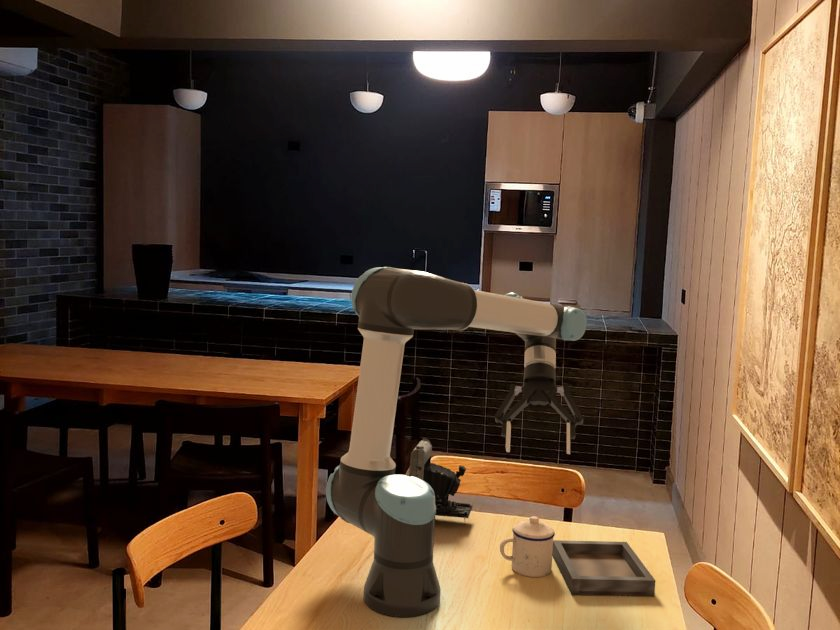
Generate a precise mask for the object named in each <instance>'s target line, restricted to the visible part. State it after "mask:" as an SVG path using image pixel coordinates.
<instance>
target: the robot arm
mask: <svg viewBox="0 0 840 630" xmlns="http://www.w3.org/2000/svg"><path fill="white" fill-rule="evenodd" d="M350 296H351V297H350V300H351V301H350V303H351V306H352V309H353V310H354V313H355V314H356V315H357V317H358V325H357V330H358V331H359V333H360V334H361V336H362V337H363V344H362V350H361V359H360V366H359V373H358V379H357V380H358V381H357V388H356V396H355V404H354V410H353V411H354V412H353V417H352V418H353V419H352V426H351V433H350V440H349V447H348V448H349V449H348V452H346V453H345V454H344V455H342V456H341V457H340V463H339V465H337V466H336V467H335V468H334V469H333V470H334V472H333V473H330V475H329V477H328V480H327V481H326V487H325V498H326V502H327V504H328V506H329V508H330V510H331V511H332V512H333V513H334V514H335V515H337V516H338V517H339V518H340V519H341V520H342V521H344V522H346V523H348V524H349V525H350V524H351V525H353V527H356V528H358V529H360V530H361V531H363V532H365V533H367V534H369V535H371V536H372V537H373V538H374V543H373V544H374V547H373V560H372V562H371V566H370V568H369V572H368V575H367V577H366V579H365V582H364V587H363V601H364V603H365V604H366V605H367V606H368V608H369V609H371V610H372V611H375V612H376V613H378V614H379V613H380V614H382V615H385V616H391V617H397V618H398V617H399V618H407V617H409V618H411V617H417V616H422V615H425V614H427V613H430V612H432V611H434V610H435V609H437V608H438V606H439V604H440V603H441V602H440V601H441V585H440V582H439V577H438V576H437V570H436V568H435V564H434V548H435V547H434V544H435V527H436V515H435V514H436V505H435V493H434V491H433V489H432V487H431V486H430V485H429V484H428V483H426V482H425V481H423V480H421V479H419V478H417V477H413V476H411V477H409V475H407V474H401V473H400V474H399V473H398V474H396V467H397V465H396V463H395V461H394V460H393V459H392V457H391V450H392V442H393V436H394V435H393V434H394V428H395V418H396V413H397V403H398V397H399V388H400V382H401V375H402V366H403V362H404V361H403V359H404V353H405V345H406V343H407V342H408V341H410V340H411V339H412V338H413V337H414V333H415V331H414V330H449V331H450V330H452V331H464V330H467V329H468V328H475V329H476V328H477V329H485V330H493V331H498V332H499V331H500V332H508V333H514V334H515V335H517V336H518V337H519V338H521V340H523V341H524V363H523V365H524V370H523V383H522V386H520V385H516V384H515V383H511V384H510V386H509V389H508V393H507V394H506V396H505V397H504V400H503V401H502V403H501V404H500V406H499V408H498V409H497V411H496V412H495V414H494V420H495V422H496V424H501V437H502V438H505V451H506V453H510V452H511V438H512V437H511V436H512V434H511V433H512V432H511V431H512V424H511V422H512V421H513V420H514V419H515V418H516V417H517V416H518V415H519V414H520V413H521V412H522V411H523V410H524V409H525V408H527V407H528V406H529V405H532V406H537V405H541V406H547V405H549V406H551V407H552V409H554V410H555V411H556V412H557V413H558V414H559V415H560V417H561V418H562V419H563V420H564V421H565V422H566V454H567V455H571V440H576V427H577V426H582V425H583V424H584V416H583V415H582V413H581V411H580V410H579V407H578V406H577V404H576V402H575V400H574V399H573V396H572V394H571V393H570V387H569V385H568V384H566V383H565V384H564V385H563V386H557V385H556V377H557V376H556V368H557V365H556V364H557V361H556V360H557V359H556V358H557V356H556V354H557V350H556V348H557V347H556V346H557V342H556V341H557V339H559V340H562V341H573V342H575V341H578V340H580V339H581V338H582V337H583V336H584V335H585V332H586V330H587V324H588V323H587V322H588V320H587V316H586V314H585V312H584V311H583V310H582V309H581V308H578V307H573V306H570V305H568V306H567V305H560V304H555V303H554V304H553V303H548V302H543V301H538V300H531V299H526V298H524V297H523V296H521V295H519V294H518V293H515V292H509V293H508V292H507V293H505V294H500V293H499V294H498V293H493V292H488V291H487V292H486V291H482V290H476V289H474V287H472V285H470V284H468V283H466V282H465V283H464V282H460V281H457V280H452V279H449V278H446V277H443V276H440V275H437V274H433V273H429V272H427V271H423V270H414V269H413V270H412V269H404V268H396V267H391V266H383V267H381V266H380V267H379V266H378V267H373V268H369V269H368V270H366V271H364V273H362V275H360V276H359V277H358V278H357V280H356V281H355V283H354V285H353V288H352V290H351V295H350ZM519 393H522V396H521V397H520V399H519V401H518V402H517V403H515V405H513V406H512V407H511V408H510V406H511V405H512V403H513V402H514V401H515V400H514V399H515V398H516V397H517V396H519ZM557 394H559V395H560V396H561V397H563V398H564V401H565V402H566V404H567V406H568V408H569V410H570V412H571V413H570V412H569V411H568V410H567V409H566V408H565V407H564V406H563V405H562V404H561V403H560V402H559V400H558V399H557V397H556V396H557ZM515 396H516V397H515ZM509 408H510V409H509ZM571 414H572V415H573V416H572V415H571Z"/></svg>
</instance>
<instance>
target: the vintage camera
mask: <svg viewBox="0 0 840 630" xmlns="http://www.w3.org/2000/svg"><path fill="white" fill-rule="evenodd" d="M432 451H433V445H432V443H431V441H430V440H429V439H428V438H422V440H420V441H419V442H418V443H417V445H416V446H415V447H414V448H413V450H412V452H411V453H410V460H409V471H408V473H409V474H408V477H411V476H413V477H417V478H419V479H421V480H423V481H425V482H426V483H428V484H429V485H430V486H431V487H432V489H433V491H434V493H435V505H436V514H435V516H437V517H447V518H448V517H450V518H460V519H461V518H463V520H464V521H466V519H469V518H470V514H471V512H472V509H473V507H474V506H473V504H472V505H471V503H467V502H456V501H455V500H454V501H451V500H449V495H450V496H452V497H454V496H455V495H456V494H457V492H458V490H459V488H460V485H461V481H462V480H461V479H460V477H463V476H465V473H466V471H467V468H466V467H465V466H464V465H459V467H458V470H456V471H452V470H451V469H450V468H448V467H444V466H442V465H440V464H436V463H433V462H432V461H431V460H432Z"/></svg>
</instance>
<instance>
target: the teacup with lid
mask: <svg viewBox="0 0 840 630" xmlns="http://www.w3.org/2000/svg"><path fill="white" fill-rule="evenodd" d="M555 534H556V533H555V530H554V528H553V527H552V526H551V525H549V524H547V523H545V522H543V521H540V519H539V517H538V516H535V515H532V516H530V517H529V519H527V520H523V521H522V520H521V521H518V522H517V523H515V524H514V525H513V527H512V537H506V538H504V539H503V540H502V541H501V542H500V544H499V552H500V555H501V556H502V557H503V558H504V560H507V561H511V568H512V569H513V571H515V573H517V574H519V575H522V576H525V577H529V578H540V577H544V576H547V575H549V574H551V572H552V568H553V567H552V565H553V556H552V551H553V540H554V537H555V536H556V535H555ZM508 543H512V548H511V549H512V551H511V555H506V553H505V546H506V545H507V544H508Z"/></svg>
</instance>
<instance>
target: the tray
mask: <svg viewBox="0 0 840 630" xmlns="http://www.w3.org/2000/svg"><path fill="white" fill-rule="evenodd" d="M552 559H553V560H554V562H555V564H556V566H557V568H558V570H559V573H560V575H561V576H562V579H563V581H564V582H565V583H564V584H566V587H567V589H568V591H569V593H570V594H571V596H578V597H579V596H582V597H583V596H585V597H587V596H588V597H634V598H635V597H638V598H639V597H641V598H643V597H645V598H646V597H647V598H654V597H655V592H656V579H655V578H654V577H653V575H652V574H651V572H650V571H649V570H648V568H647V567H646V566H645V564H644V563H643V562H642V561H641V559H640V558H639V556H638V555H637V553H636V552H635V551H634V549H633V548H632V547H631V546H630V544H629V543H628V542H627V541H603V540H602V541H600V540H599V541H597V540H595V541H594V540H593V541H592V540H559V539H558V540H557V539H555V540H554V539H553V551H552Z"/></svg>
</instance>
